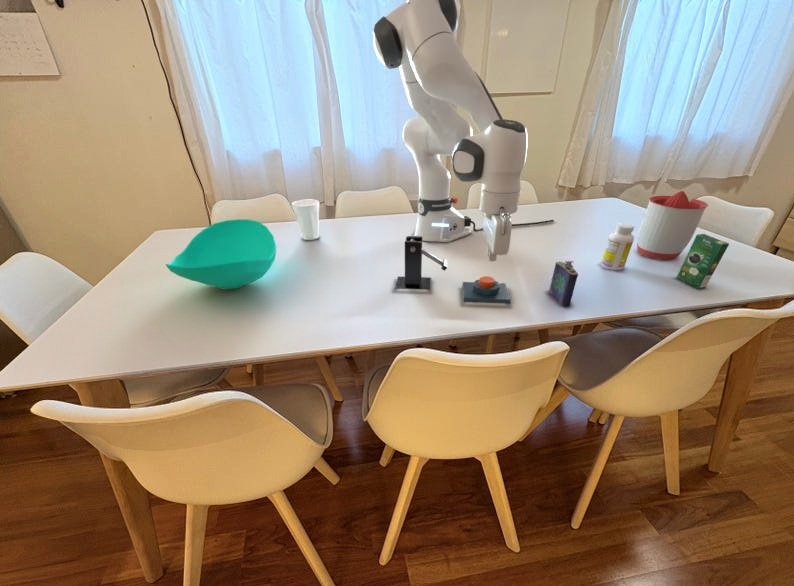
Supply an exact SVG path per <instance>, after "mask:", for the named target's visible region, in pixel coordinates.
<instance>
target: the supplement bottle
mask: <svg viewBox="0 0 794 586" xmlns="http://www.w3.org/2000/svg"><path fill="white" fill-rule="evenodd" d="M634 229H635V226H634V225H633V224H630V223H625V222H624V223H623V222H621V223H617V224H616V226H615V231H614V232H612V233H610V235H609V237H608V240H607V243H606V246H605V250H604V253H603V256H602V259H601V263H600V264H601V267H603V268H604V269H605V270H611V271H621V270H623V269H624V268H625V266H626V263H627V260H628V257H629V254H630V252H631V250H632V246H633V243H634V240H635V236H634V235H633V234H632V233H633V231H634Z"/></svg>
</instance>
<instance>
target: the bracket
mask: <svg viewBox="0 0 794 586" xmlns="http://www.w3.org/2000/svg"><path fill="white" fill-rule="evenodd" d="M411 238H413V239H414V240H416V241H410V240H411ZM421 248H423V240H422V236H414V235H406V236H405V240H404V276H398V275H397V276H396V281H395V285H394V289H396V290H397V289H398V290H399V289H400V290H426V291H427V290H431V283H432V277H430V276H429V277H428V276H422V272H423V269H422V268H423V254H422V253H421Z"/></svg>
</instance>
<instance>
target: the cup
mask: <svg viewBox="0 0 794 586" xmlns="http://www.w3.org/2000/svg"><path fill="white" fill-rule="evenodd" d="M291 206H292V210H293V212H294V215H295V218H296V221H297V224H298V228H299V230H300V234H301V238H302V239H303V240H307V241H313V240H317V239H319V238H320V201H319V200H318V199H311V198H310V199H309V198H308V199H307V198H306V199H299V200H298V199H297V200H295V201H293V202H292V203H291Z"/></svg>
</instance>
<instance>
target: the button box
mask: <svg viewBox="0 0 794 586" xmlns="http://www.w3.org/2000/svg"><path fill="white" fill-rule="evenodd" d="M461 286H462V287H461V288H462V301H463V303H483V304H484V303H485V304H486V303H487V304H511V300H512V299H511V296H510V293H509V289H508V286H507V283H506V282H498V281H496V280H495V282H494V287H492V288H483V287H480V286H479V279H476V280H474V281H462V284H461Z"/></svg>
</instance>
